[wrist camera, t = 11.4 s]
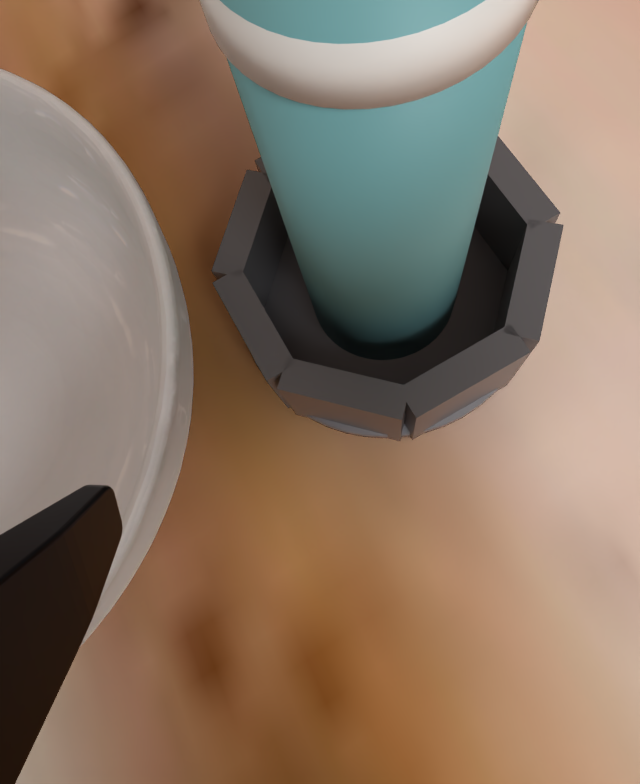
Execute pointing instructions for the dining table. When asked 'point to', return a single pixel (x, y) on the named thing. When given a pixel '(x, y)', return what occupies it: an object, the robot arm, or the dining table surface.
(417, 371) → the socket ring
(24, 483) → the serving bowl
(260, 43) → the teal peg
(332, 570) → the dining table surface
